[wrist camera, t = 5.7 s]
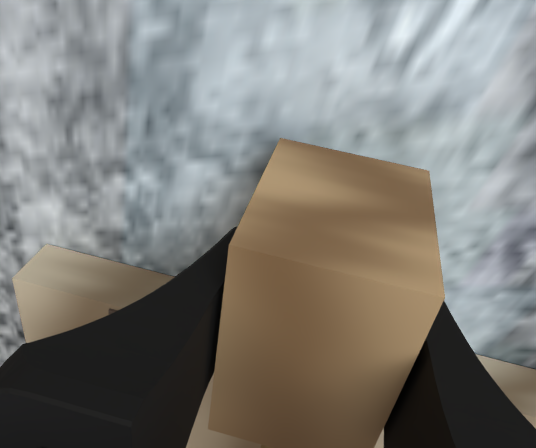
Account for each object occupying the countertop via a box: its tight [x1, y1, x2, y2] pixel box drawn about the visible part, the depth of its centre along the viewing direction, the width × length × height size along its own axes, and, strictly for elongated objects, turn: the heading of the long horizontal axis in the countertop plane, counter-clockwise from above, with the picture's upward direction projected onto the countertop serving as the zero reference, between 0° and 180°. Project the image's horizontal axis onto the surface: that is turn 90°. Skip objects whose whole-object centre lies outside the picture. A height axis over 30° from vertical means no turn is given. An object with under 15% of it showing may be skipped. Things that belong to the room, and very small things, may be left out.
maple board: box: [12, 244, 536, 448], centre depth 19 cm, size 20×8×2 cm, turn 82°
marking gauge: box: [208, 138, 445, 448], centre depth 14 cm, size 4×11×5 cm, turn 172°
